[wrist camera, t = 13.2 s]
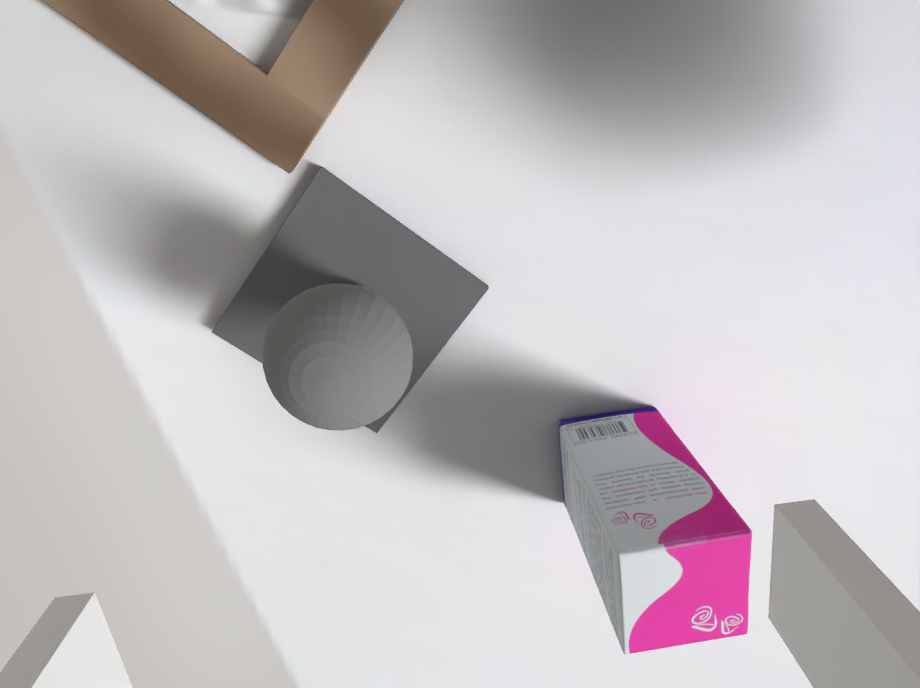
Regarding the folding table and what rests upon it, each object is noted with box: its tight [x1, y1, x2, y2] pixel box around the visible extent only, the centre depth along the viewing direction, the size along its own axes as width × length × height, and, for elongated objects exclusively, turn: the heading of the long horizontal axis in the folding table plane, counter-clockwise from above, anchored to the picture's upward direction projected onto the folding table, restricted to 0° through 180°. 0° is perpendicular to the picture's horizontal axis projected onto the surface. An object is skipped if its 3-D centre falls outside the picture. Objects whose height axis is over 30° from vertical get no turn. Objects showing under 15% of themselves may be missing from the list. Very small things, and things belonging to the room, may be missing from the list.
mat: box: [212, 167, 488, 433], centre depth 34 cm, size 10×10×1 cm
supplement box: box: [558, 407, 752, 654], centre depth 33 cm, size 6×6×12 cm
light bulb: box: [263, 283, 413, 430], centre depth 29 cm, size 6×6×10 cm
